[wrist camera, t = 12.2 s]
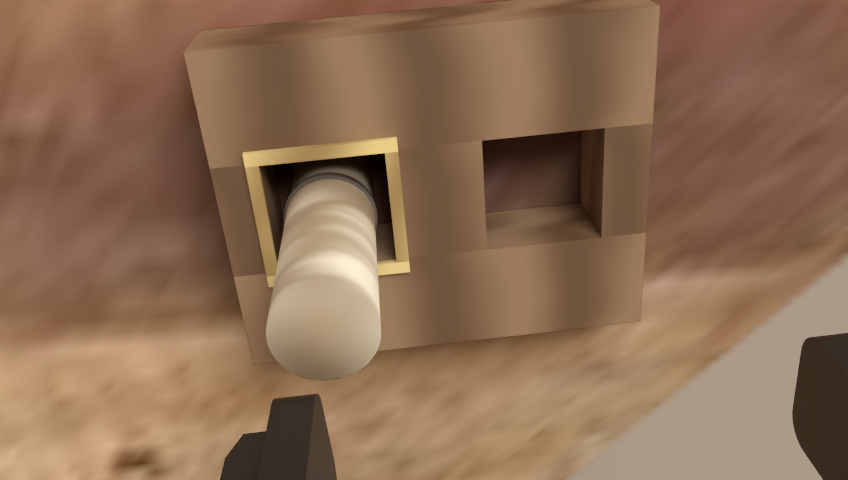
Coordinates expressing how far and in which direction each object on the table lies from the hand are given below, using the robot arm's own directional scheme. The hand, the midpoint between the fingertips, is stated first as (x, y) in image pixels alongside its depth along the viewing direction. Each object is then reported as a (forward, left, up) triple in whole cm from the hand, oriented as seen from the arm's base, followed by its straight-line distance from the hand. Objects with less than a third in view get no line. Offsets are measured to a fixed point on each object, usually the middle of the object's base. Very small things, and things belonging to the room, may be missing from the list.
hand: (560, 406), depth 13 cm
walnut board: (0, +7, -27) cm, 28 cm away
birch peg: (+5, +7, -27) cm, 28 cm away
